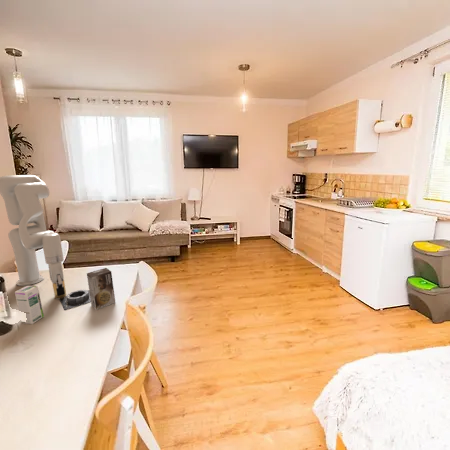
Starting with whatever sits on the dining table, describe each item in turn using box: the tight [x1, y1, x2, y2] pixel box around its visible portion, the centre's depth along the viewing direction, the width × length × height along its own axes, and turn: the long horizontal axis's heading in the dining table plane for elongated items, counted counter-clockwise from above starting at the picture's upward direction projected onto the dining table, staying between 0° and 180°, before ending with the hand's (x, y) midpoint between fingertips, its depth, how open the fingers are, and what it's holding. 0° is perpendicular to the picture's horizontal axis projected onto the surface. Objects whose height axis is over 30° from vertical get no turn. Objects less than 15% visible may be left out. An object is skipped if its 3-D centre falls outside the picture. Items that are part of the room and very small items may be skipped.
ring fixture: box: [59, 289, 91, 311], centre depth 132 cm, size 14×14×3 cm
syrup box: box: [14, 285, 45, 325], centre depth 113 cm, size 6×6×14 cm
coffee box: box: [86, 267, 116, 311], centre depth 125 cm, size 9×6×16 cm
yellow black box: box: [51, 280, 67, 300], centre depth 135 cm, size 5×5×8 cm
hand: (60, 292), depth 135 cm, fingers closed on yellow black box, 5 cm apart
